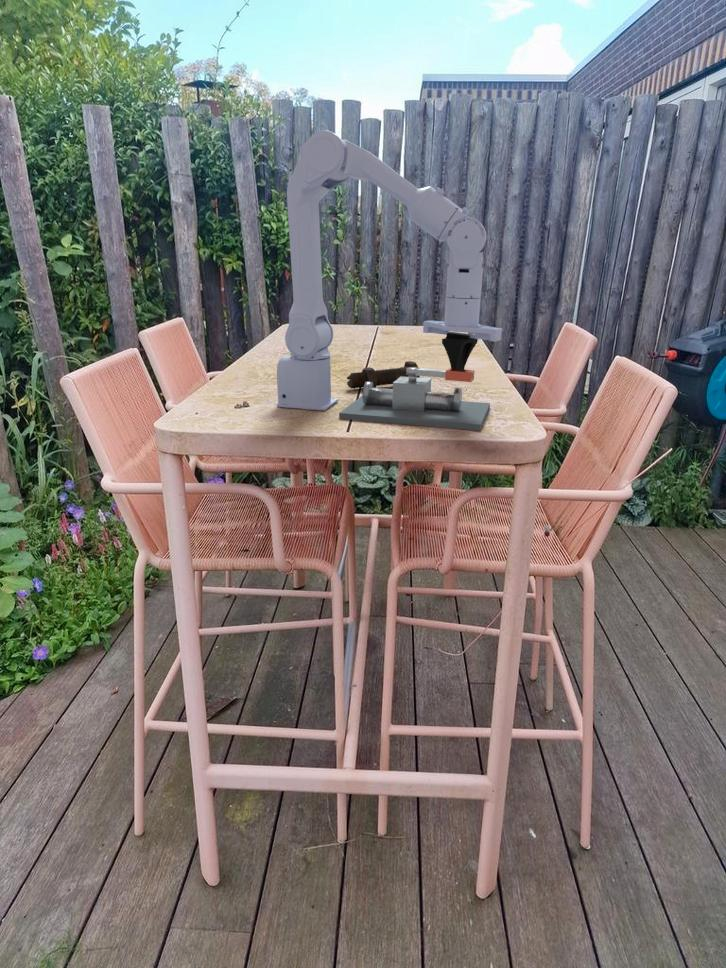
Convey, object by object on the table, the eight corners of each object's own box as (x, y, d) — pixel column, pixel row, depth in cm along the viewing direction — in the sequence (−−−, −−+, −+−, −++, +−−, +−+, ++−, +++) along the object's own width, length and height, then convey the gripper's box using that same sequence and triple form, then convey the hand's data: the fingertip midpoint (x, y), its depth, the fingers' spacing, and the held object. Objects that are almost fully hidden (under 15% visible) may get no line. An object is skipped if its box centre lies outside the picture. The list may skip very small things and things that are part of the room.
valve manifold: (361, 407, 105) (361, 374, 103) (370, 400, 110) (370, 369, 108) (457, 415, 100) (459, 381, 98) (461, 407, 105) (463, 374, 103)
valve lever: (404, 376, 102) (404, 367, 102) (408, 374, 104) (408, 365, 104) (470, 382, 98) (471, 372, 98) (473, 379, 100) (474, 370, 100)
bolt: (348, 398, 124) (413, 390, 129) (355, 391, 119) (422, 383, 124) (342, 371, 124) (407, 365, 129) (349, 363, 120) (416, 356, 124)
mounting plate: (339, 418, 102) (339, 412, 101) (364, 398, 115) (364, 393, 115) (480, 430, 95) (480, 424, 95) (489, 408, 109) (490, 403, 108)
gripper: (413, 295, 100) (410, 376, 105) (488, 301, 90) (480, 389, 96) (438, 293, 104) (434, 370, 110) (511, 299, 95) (503, 382, 100)
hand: (457, 379), depth 103 cm, fingers closed, pressing on valve lever
